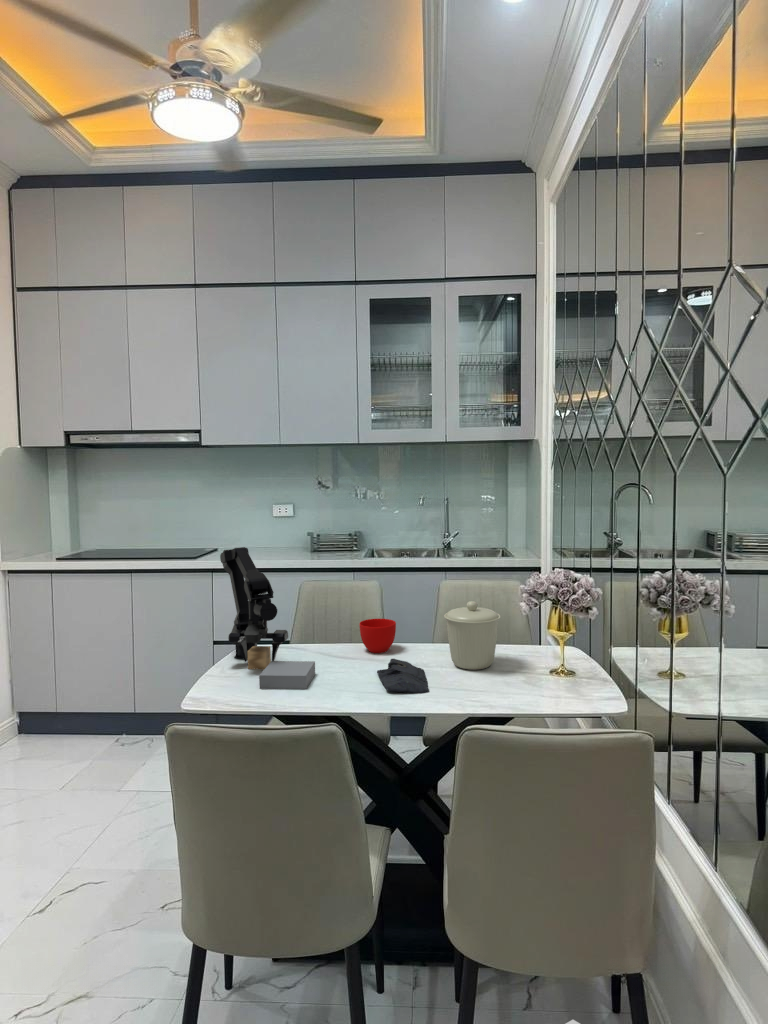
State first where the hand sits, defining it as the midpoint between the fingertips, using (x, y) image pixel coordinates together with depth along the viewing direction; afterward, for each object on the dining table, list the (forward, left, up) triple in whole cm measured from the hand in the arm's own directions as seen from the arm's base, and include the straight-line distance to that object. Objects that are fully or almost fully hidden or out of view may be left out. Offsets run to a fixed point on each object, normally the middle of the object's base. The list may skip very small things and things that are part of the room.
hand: (259, 661), depth 207 cm
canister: (+70, +3, -2) cm, 70 cm away
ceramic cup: (+37, +21, -2) cm, 43 cm away
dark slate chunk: (+48, -13, -2) cm, 50 cm away
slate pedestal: (+13, -14, -2) cm, 19 cm away
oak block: (0, 0, -2) cm, 2 cm away
